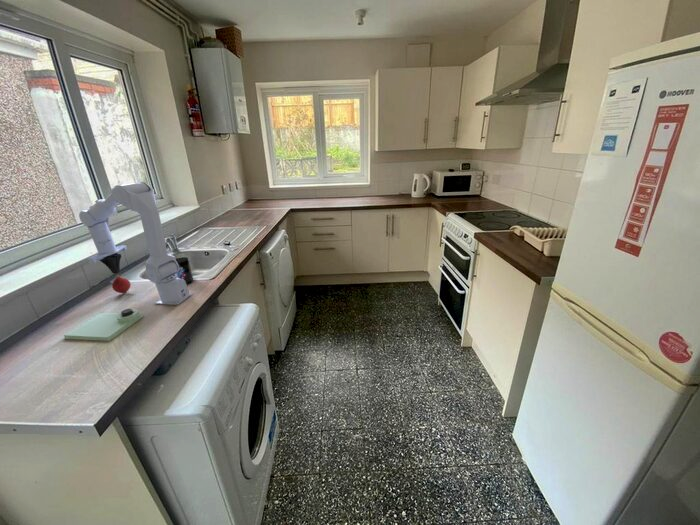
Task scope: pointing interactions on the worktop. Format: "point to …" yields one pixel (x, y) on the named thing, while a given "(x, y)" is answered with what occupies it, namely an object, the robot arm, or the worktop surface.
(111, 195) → the robot arm
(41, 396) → the worktop surface
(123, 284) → the onion
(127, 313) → the tare button
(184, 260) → the supplement container
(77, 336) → the scale
